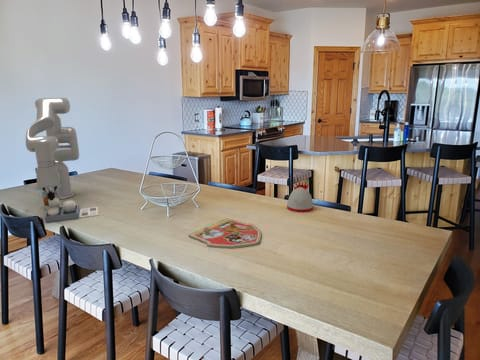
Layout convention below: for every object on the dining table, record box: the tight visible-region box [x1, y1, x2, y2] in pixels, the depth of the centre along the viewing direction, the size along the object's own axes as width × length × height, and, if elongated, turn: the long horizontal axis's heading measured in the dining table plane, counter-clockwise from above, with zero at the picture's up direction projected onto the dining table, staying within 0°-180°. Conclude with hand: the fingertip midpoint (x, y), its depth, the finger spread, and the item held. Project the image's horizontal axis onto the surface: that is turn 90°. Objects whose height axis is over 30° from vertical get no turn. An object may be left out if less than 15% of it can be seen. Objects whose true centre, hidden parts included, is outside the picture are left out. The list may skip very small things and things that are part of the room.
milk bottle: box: [41, 187, 61, 211], centre depth 195 cm, size 8×8×20 cm
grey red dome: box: [286, 181, 314, 213], centre depth 190 cm, size 14×14×15 cm
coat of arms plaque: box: [187, 217, 262, 249], centre depth 157 cm, size 29×30×4 cm
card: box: [78, 206, 99, 219], centre depth 189 cm, size 14×9×1 cm, turn 22°
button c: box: [48, 207, 59, 216], centre depth 179 cm, size 5×5×5 cm
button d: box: [62, 199, 75, 212], centre depth 181 cm, size 5×5×5 cm
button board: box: [44, 204, 80, 224], centre depth 184 cm, size 15×15×3 cm
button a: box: [48, 198, 61, 208], centre depth 185 cm, size 5×5×5 cm
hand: (51, 199), depth 178 cm, fingers closed
